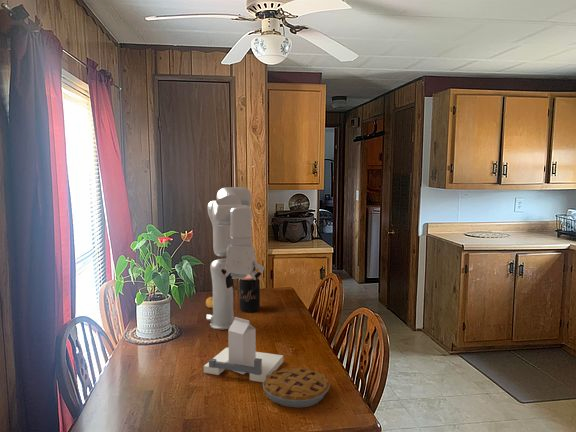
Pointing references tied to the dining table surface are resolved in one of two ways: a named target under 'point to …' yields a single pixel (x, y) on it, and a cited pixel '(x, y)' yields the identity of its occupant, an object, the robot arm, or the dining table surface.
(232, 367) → the hook rail
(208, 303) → the bagel
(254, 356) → the milk carton
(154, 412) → the dining table surface
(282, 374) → the pie
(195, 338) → the dining table surface
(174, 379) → the dining table surface
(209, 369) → the notched board
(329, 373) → the dining table surface
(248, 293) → the coffee jar
